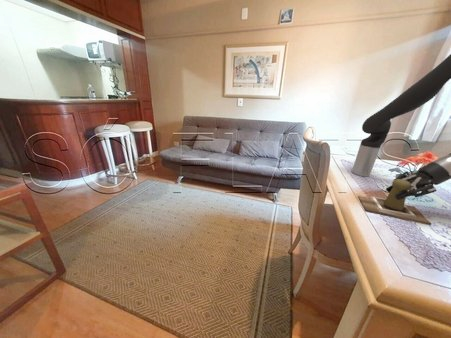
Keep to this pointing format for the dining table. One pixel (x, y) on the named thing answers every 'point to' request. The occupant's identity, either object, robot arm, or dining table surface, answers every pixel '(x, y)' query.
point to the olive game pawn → (397, 188)
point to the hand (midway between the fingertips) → (391, 194)
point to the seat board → (392, 210)
